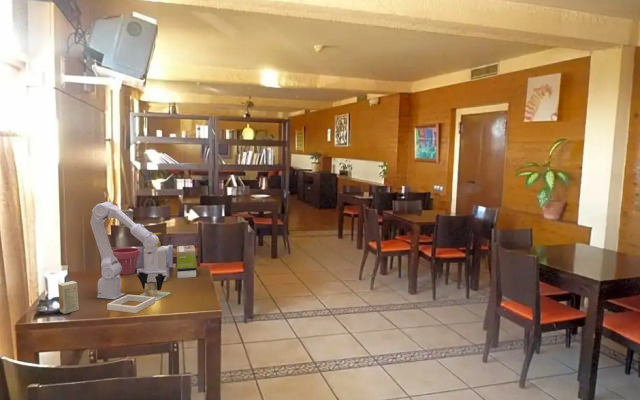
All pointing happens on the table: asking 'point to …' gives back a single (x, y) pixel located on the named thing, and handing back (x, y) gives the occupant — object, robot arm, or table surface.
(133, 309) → the white bin
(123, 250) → the plant pot
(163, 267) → the soap bottle
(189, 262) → the tea box
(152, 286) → the birch block
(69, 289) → the skincare box
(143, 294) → the sage tile
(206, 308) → the table surface
